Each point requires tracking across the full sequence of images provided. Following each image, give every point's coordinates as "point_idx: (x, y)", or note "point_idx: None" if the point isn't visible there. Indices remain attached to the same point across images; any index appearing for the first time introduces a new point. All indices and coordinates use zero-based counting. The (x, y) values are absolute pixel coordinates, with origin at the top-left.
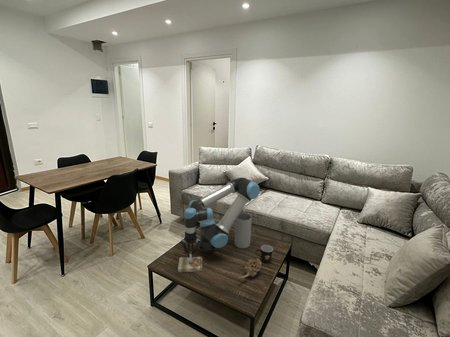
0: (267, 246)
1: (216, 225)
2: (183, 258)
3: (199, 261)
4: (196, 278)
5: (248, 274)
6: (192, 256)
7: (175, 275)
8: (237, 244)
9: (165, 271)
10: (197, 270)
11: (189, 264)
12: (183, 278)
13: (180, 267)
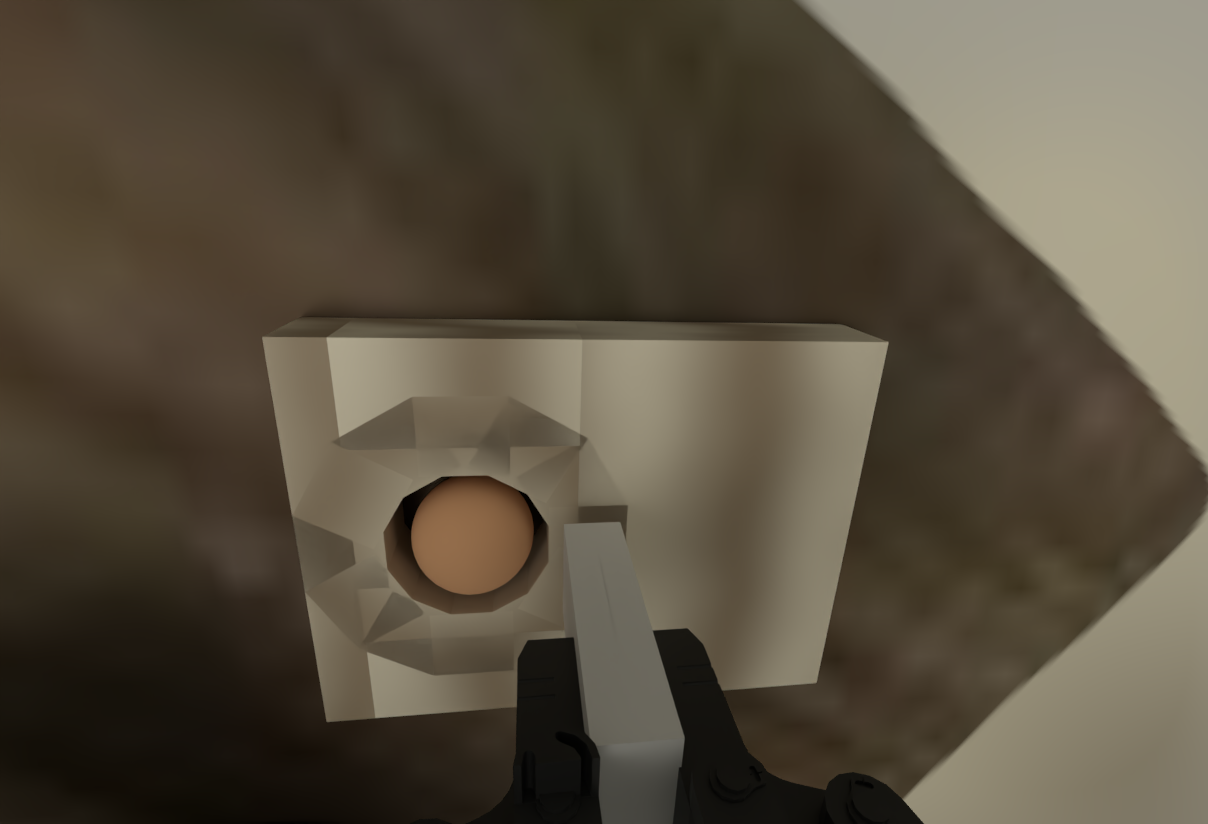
0: None
1: None
2: (744, 660)
3: (373, 580)
4: (416, 51)
5: None
6: (552, 670)
7: (902, 219)
8: None
9: (1066, 355)
10: (411, 322)
11: (616, 483)
12: (740, 93)
13: (828, 387)
